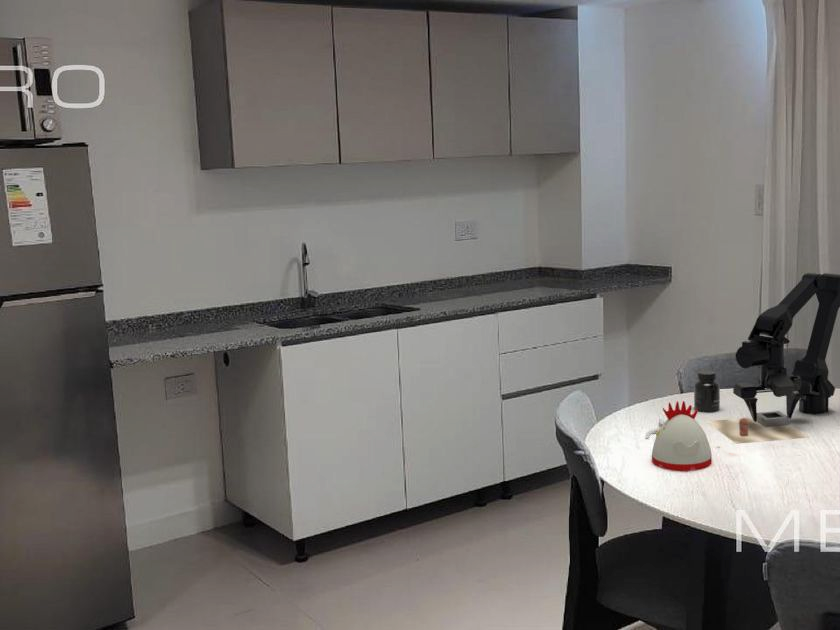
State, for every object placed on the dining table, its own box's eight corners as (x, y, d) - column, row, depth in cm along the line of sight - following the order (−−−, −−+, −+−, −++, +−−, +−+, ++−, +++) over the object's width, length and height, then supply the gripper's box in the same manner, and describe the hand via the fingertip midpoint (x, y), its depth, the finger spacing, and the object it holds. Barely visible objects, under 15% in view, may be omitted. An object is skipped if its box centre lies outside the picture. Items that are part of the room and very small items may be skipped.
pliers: (645, 434, 248) (647, 418, 262) (645, 440, 248) (647, 424, 262) (684, 435, 245) (684, 419, 259) (684, 441, 245) (684, 424, 260)
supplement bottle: (721, 417, 263) (720, 375, 260) (695, 417, 264) (694, 375, 262) (718, 410, 269) (718, 369, 267) (693, 411, 271) (692, 369, 269)
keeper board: (774, 420, 257) (774, 399, 256) (810, 442, 237) (810, 420, 236) (705, 426, 255) (705, 405, 254) (735, 449, 236) (735, 426, 235)
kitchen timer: (646, 453, 237) (645, 395, 234) (702, 451, 236) (702, 392, 234) (659, 472, 223) (657, 410, 221) (718, 469, 223) (717, 407, 220)
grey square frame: (778, 418, 254) (778, 411, 253) (789, 425, 247) (789, 417, 247) (754, 420, 253) (754, 413, 253) (765, 427, 247) (765, 419, 247)
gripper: (749, 371, 239) (750, 431, 242) (822, 366, 240) (821, 425, 243) (732, 362, 250) (732, 419, 253) (801, 356, 251) (801, 414, 254)
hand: (772, 420), depth 250 cm, fingers open, 9 cm apart
